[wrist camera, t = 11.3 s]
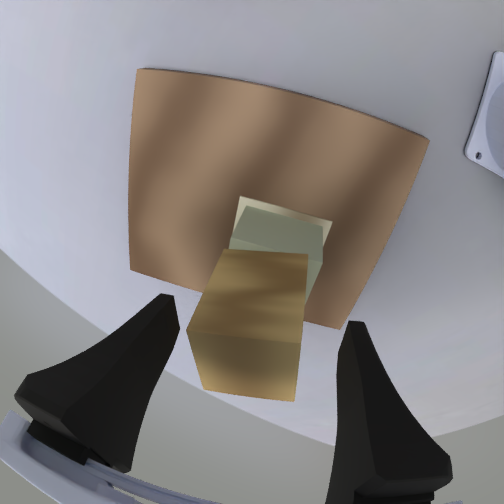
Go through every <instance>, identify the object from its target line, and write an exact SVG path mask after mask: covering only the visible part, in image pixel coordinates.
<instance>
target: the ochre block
mask: <svg viewBox="0 0 504 504" xmlns="http://www.w3.org/2000/svg"><path fill="white" fill-rule="evenodd" d="M307 270H308V254H299V253H284V252H268V251H252V250H236V249H224V250H223V252H222V254H221V256H220V258H219V260H218V262H217V265H216V267H215V269H214V271H213V273H212V275H211V277H210V279H209V282H208V284H207V286H206V288H205V290H204V292H203V294H202V296H201V299H200V301H199V303H198V305H197V307H196V309H195V312H194V314H193V316H192V318H191V320H190V322H189V325H188V327H187V329H186V331H187V335H188V339H189V342H190V346H191V349H192V353H193V356H194V359H195V363H196V366H197V369H198V373H199V376H200V379H201V382H202V386H203V389H204V390H209V391H215V392H221V393H227V394H234V395H240V396H247V397H255V398H263V399H272V400H281V401H292V402H294V400H295V392H296V384H297V376H298V368H299V359H300V350H301V340H302V330H303V320H304V309H305V296H306V284H307Z"/></svg>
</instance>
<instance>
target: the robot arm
mask: <svg viewBox="0 0 504 504" xmlns="http://www.w3.org/2000/svg"><path fill="white" fill-rule="evenodd" d="M477 152H479V156H478V157H477V158H476V157H475V155H476V153H477ZM465 155H466V157H467V158H469V159H470V160H472V161H474V162H476V163H478V164H479V165H481V166H483V167H485V168H487V169H488V170H490V171H492V172H494V173H495V174H497V175H499V176H501V177H502V178H504V53H503V52H501V51H496V52H495V53H494V55H493V59H492V64H491V68H490V72H489V75H488V79H487V83H486V87H485V90H484V94H483V97H482V100H481V104H480V107H479V110H478V113H477V116H476V119H475V122H474V125H473V128H472V131H471V134H470V136H469V139H468V142H467V145H466V147H465ZM179 330H180V326H179V321H178V316H177V311H176V306H175V300H174V296H173V295H167V294H162V293H161V294H159V295H158V296H157V297H156V298H154V299H153V300H152V301H151V302H150V303H148V304H147V305H146V306H145V307H144V308H143V309H141V310H140V311H139V312H138V313H137V314H136V315H134V316H133V317H132V318H131V319H129V320H128V321H127V322H126V323H125V324H123V325H122V326H121V327H120V328H118V329H117V330H116V331H114V332H113V333H112V334H110V335H109V336H108V337H106V338H105V339H103V340H102V341H100V342H99V343H97V344H95V345H94V346H92V347H91V348H89V349H87V350H86V351H84V352H82V353H80V354H78V355H76V356H74V357H72V358H70V359H68V360H66V361H64V362H62V363H59V364H57V365H54V366H52V367H49V368H47V369H44V370H41V371H38V372H35V373H31V374H28V375H27V376H26V378H25V379H24V381H23V382H22V384H21V385H20V387H19V388H18V390H17V391H16V393H15V395H14V397H15V400H16V401H17V402H18V403H19V405H20V406H21V407H22V408H23V409H24V410H25V411H26V412H27V413H28V414H29V415H30V416H31V417H32V418H33V421H32V423H30V422H28V421H27V420H26V419H24V418H23V417H21V416H20V415H18V414H17V413H15V412H14V411H12V410H9V412H8V414H7V415H6V417H5V418H4V420H3V422H2V423H1V425H0V459H1V460H2V461H3V462H4V463H6V464H7V465H8V466H9V467H10V468H12V469H13V470H14V471H15V472H17V473H18V474H19V475H21V476H22V477H23V478H24V479H26V480H27V481H28V482H30V483H31V484H32V485H34V486H35V487H36V488H38V489H39V490H41V491H42V492H44V493H45V494H46V495H48V496H49V497H51V498H52V499H54V500H55V501H57V502H58V503H60V504H142V503H140V502H138V501H137V500H135V499H134V498H133V497H130V496H128V495H126V494H124V493H121V492H119V491H117V490H115V489H114V487H113V486H115V487H117V488H119V489H122V490H124V491H127V492H129V493H132V494H134V495H137V496H139V497H142V498H145V499H148V500H150V501H153V502H156V503H159V504H221V503H216V502H212V501H208V500H204V499H200V498H196V497H192V496H188V495H185V494H181V493H178V492H174V491H171V490H168V489H165V488H162V487H159V486H156V485H153V484H150V483H147V482H144V481H142V480H139V479H136V478H134V477H131V476H129V475H126V474H124V473H127V472H129V471H131V466H132V461H133V456H134V452H135V447H136V443H137V439H138V435H139V432H140V428H141V424H142V421H143V418H144V415H145V411H146V409H147V405H148V403H149V400H150V397H151V395H152V392H153V390H154V388H155V386H156V384H157V381H158V379H159V377H160V375H161V373H162V371H163V369H164V367H165V365H166V363H167V361H168V359H169V357H170V355H171V353H172V351H173V348H174V345H175V343H176V340H177V337H178V334H179ZM336 377H337V436H336V445H335V453H334V460H333V466H332V473H331V478H330V483H329V489H328V493H327V498H326V502H325V504H431V501H432V500H434V491H436V490H438V489H440V488H442V487H443V486H445V485H447V484H448V483H450V481H451V480H452V479H453V475H452V464H451V460H450V456H449V455H448V454H447V453H446V452H445V451H444V450H443V449H442V448H441V447H440V446H439V445H438V444H437V443H436V442H435V441H434V440H433V439H432V438H431V437H430V436H429V435H428V434H427V432H426V431H425V430H424V429H423V428H422V426H421V425H420V424H419V422H418V421H417V420H416V419H415V417H414V416H413V415H412V413H411V412H410V411H409V409H408V408H407V406H406V405H405V403H404V402H403V400H402V399H401V397H400V396H399V394H398V392H397V391H396V389H395V387H394V385H393V384H392V382H391V380H390V378H389V376H388V374H387V372H386V370H385V369H384V366H383V364H382V362H381V360H380V358H379V356H378V354H377V352H376V349H375V347H374V345H373V342H372V340H371V338H370V335H369V333H368V330H367V328H366V325H365V323H364V322H360V321H350V320H349V321H348V325H347V328H346V331H345V334H344V337H343V340H342V343H341V346H340V349H339V351H338V361H337V374H336ZM446 504H463V503H462V501H456V502H451V503H446Z"/></svg>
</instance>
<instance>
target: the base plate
mask: <svg viewBox="0 0 504 504" xmlns="http://www.w3.org/2000/svg"><path fill="white" fill-rule="evenodd" d="M429 142H430V141H429V140H428V139H427V138H425V137H424V136H422V135H419V134H417V133H415V132H412V131H410V130H408V129H405V128H403V127H400V126H398V125H395V124H393V123H390V122H387V121H385V120H382V119H380V118H377V117H374V116H371V115H369V114H366V113H363V112H360V111H357V110H354V109H351V108H348V107H345V106H342V105H339V104H335V103H332V102H329V101H326V100H322V99H319V98H315V97H312V96H308V95H304V94H300V93H297V92H293V91H289V90H285V89H280V88H276V87H272V86H267V85H263V84H258V83H253V82H248V81H243V80H237V79H232V78H226V77H220V76H214V75H207V74H200V73H192V72H184V71H175V70H164V69H152V68H142V69H137V73H136V81H135V90H134V100H133V110H132V122H131V136H130V155H129V188H128V222H129V255H130V270H132V271H135V272H138V273H141V274H144V275H147V276H150V277H153V278H157V279H160V280H163V281H166V282H169V283H172V284H175V285H179V286H182V287H185V288H188V289H192V290H195V291H198V292H202V293H203V292H204V290H205V288H206V286H207V284H208V282H209V279H210V277H211V275H212V273H213V271H214V269H215V267H216V265H217V262H218V260H219V258H220V256H221V254H222V252H223V250H224V249H229V244H230V239H231V236H232V234H233V232H234V230H235V228H236V225H237V223H238V221H239V219H240V217H241V215H242V213H243V211H244V209H245V207H246V205H247V206H251V207H255V208H258V209H262V210H266V211H269V212H273V213H277V214H280V215H284V216H287V217H291V218H295V219H298V220H302V221H305V222H309V223H312V224H315V225H319V226H322V227H323V264H322V266H321V268H320V271H319V273H318V276H317V278H316V280H315V283H314V285H313V287H312V290H311V292H310V294H309V297H308V299H307V301H306V304H305V309H304V320H303V321H306V322H310V323H314V324H318V325H322V326H326V327H330V328H334V329H338V330H340V329H341V327H342V326H343V324H344V322H345V320H346V319H347V317H348V315H349V314H350V312H351V310H352V308H353V306H354V305H355V303H356V301H357V299H358V297H359V296H360V294H361V292H362V290H363V288H364V286H365V284H366V283H367V281H368V279H369V277H370V275H371V273H372V271H373V269H374V267H375V265H376V263H377V261H378V259H379V257H380V255H381V253H382V251H383V249H384V247H385V245H386V243H387V241H388V239H389V237H390V235H391V233H392V231H393V228H394V226H395V224H396V222H397V220H398V218H399V215H400V213H401V211H402V209H403V206H404V204H405V202H406V200H407V197H408V195H409V193H410V190H411V188H412V185H413V183H414V181H415V178H416V176H417V173H418V171H419V168H420V166H421V163H422V160H423V158H424V155H425V153H426V150H427V147H428V144H429Z"/></svg>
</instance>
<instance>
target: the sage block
mask: <svg viewBox="0 0 504 504" xmlns="http://www.w3.org/2000/svg"><path fill="white" fill-rule="evenodd" d="M229 249H236V250H252V251H268V252H284V253H299V254H308V270H307V284H306V296H305V304H306V301H307V299H308V297H309V294H310V292H311V290H312V287H313V285H314V283H315V280H316V278H317V276H318V273H319V271H320V268H321V266H322V264H323V227H322V226H319V225H315V224H312V223H309V222H305V221H302V220H298V219H295V218H291V217H287V216H284V215H280V214H277V213H273V212H269V211H266V210H262V209H258V208H255V207H251V206H247V205H246V207H245V209H244V211H243V213H242V215H241V217H240V219H239V221H238V223H237V225H236V228H235V230H234V232H233V234H232V236H231V239H230V244H229Z"/></svg>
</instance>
